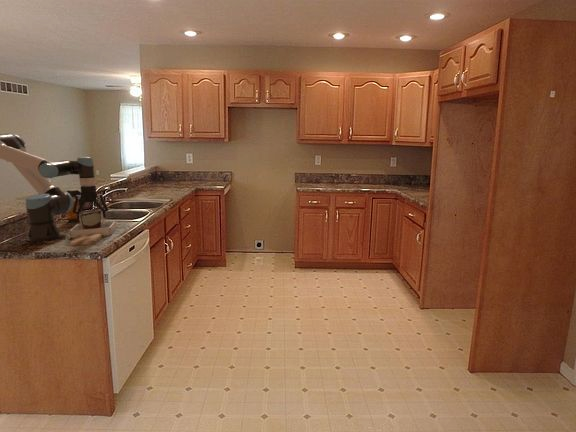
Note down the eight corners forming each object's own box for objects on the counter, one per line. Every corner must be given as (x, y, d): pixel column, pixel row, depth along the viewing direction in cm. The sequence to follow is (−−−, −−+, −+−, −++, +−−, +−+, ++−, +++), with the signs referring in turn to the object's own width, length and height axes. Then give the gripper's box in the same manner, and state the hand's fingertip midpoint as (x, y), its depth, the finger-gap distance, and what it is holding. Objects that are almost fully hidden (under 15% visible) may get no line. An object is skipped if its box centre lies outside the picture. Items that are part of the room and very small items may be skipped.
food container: (98, 225, 232) (96, 208, 230) (103, 227, 228) (101, 210, 226) (76, 230, 222) (74, 212, 220) (82, 231, 219) (79, 213, 217)
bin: (70, 238, 216) (69, 230, 215) (78, 230, 232) (77, 224, 231) (111, 234, 221) (110, 227, 220) (116, 227, 237) (115, 221, 236)
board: (70, 245, 202) (69, 242, 201) (78, 237, 216) (77, 235, 216) (96, 243, 204) (95, 240, 204) (102, 236, 219) (101, 233, 218)
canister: (73, 219, 263) (69, 189, 259) (89, 219, 262) (85, 188, 258) (65, 222, 254) (60, 191, 250) (81, 222, 253) (77, 191, 249)
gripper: (62, 187, 214) (67, 227, 219) (109, 185, 220) (113, 224, 224) (66, 185, 222) (71, 224, 226) (111, 183, 227) (115, 221, 232)
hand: (92, 224), depth 225 cm, fingers closed on food container, 11 cm apart
